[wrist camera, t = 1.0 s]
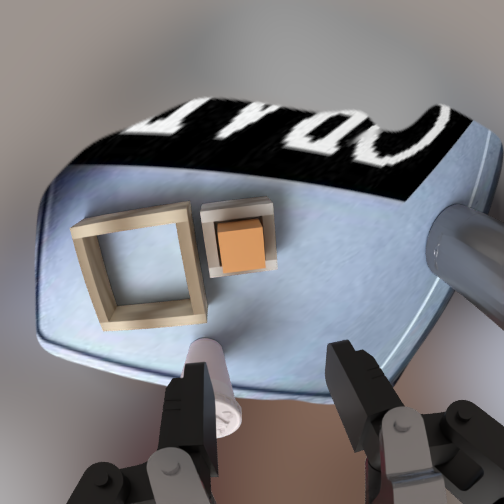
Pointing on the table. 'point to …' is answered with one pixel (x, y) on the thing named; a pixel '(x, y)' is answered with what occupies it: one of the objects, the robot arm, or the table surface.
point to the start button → (241, 245)
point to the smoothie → (217, 384)
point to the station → (182, 216)
